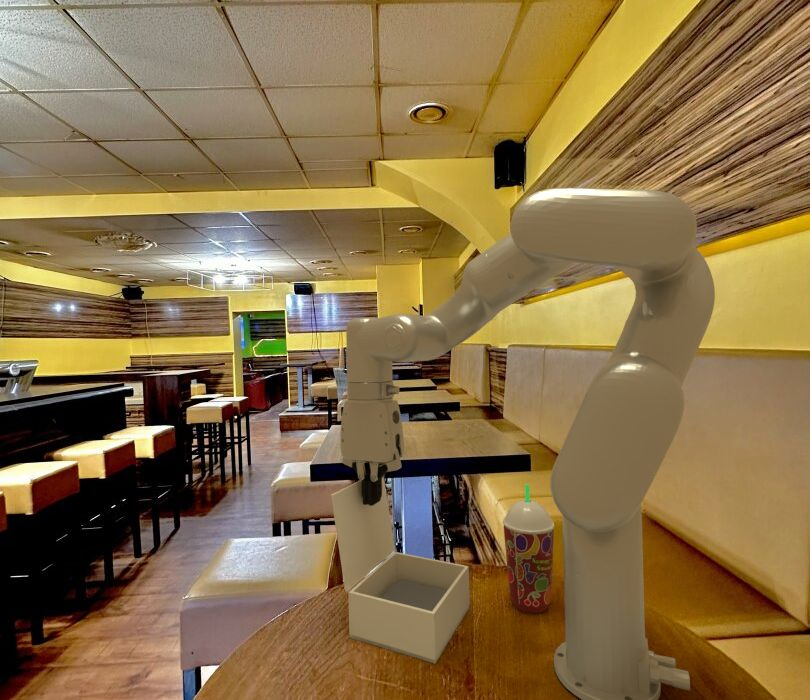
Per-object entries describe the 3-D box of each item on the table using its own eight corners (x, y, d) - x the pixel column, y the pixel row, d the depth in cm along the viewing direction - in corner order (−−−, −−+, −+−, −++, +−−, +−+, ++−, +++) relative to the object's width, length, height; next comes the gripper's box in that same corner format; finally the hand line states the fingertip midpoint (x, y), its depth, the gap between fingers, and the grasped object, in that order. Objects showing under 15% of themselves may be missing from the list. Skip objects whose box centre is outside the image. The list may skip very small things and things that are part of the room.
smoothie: (546, 624, 69) (542, 495, 70) (496, 607, 74) (493, 487, 75) (563, 600, 76) (560, 482, 76) (517, 585, 81) (514, 475, 81)
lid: (382, 469, 82) (380, 470, 83) (333, 494, 69) (330, 494, 69) (395, 550, 81) (392, 550, 82) (347, 591, 67) (344, 591, 68)
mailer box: (469, 607, 75) (468, 566, 75) (435, 663, 61) (433, 614, 61) (395, 589, 81) (394, 551, 81) (349, 637, 68) (348, 592, 68)
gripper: (420, 391, 75) (422, 501, 74) (345, 389, 81) (347, 490, 81) (399, 395, 68) (401, 517, 68) (319, 393, 74) (321, 503, 74)
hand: (372, 502), depth 74 cm, fingers closed
